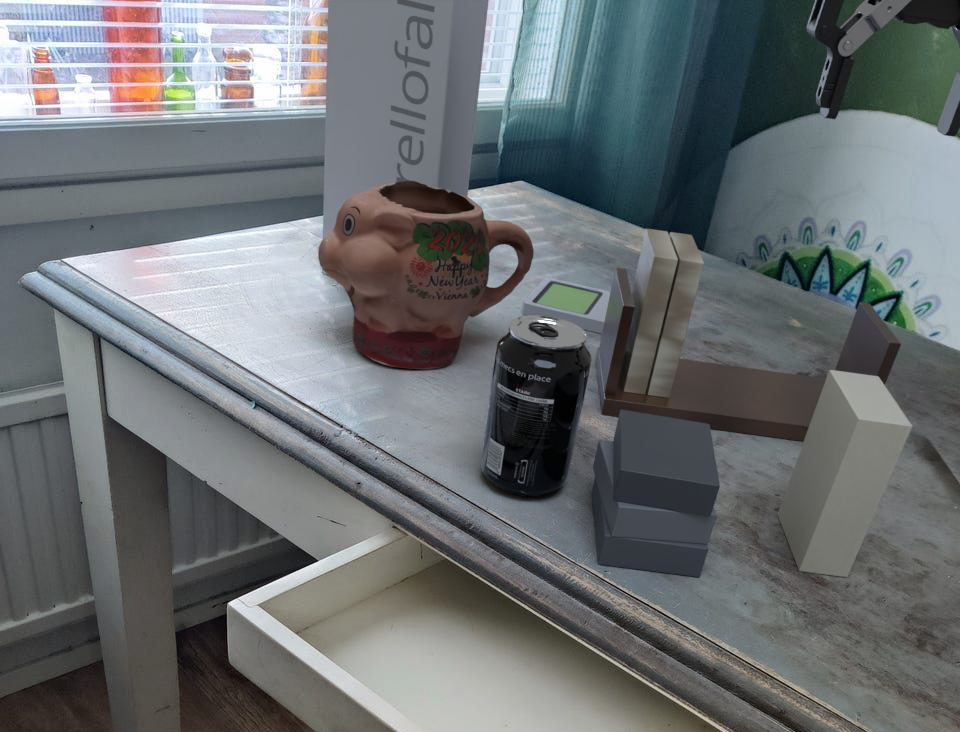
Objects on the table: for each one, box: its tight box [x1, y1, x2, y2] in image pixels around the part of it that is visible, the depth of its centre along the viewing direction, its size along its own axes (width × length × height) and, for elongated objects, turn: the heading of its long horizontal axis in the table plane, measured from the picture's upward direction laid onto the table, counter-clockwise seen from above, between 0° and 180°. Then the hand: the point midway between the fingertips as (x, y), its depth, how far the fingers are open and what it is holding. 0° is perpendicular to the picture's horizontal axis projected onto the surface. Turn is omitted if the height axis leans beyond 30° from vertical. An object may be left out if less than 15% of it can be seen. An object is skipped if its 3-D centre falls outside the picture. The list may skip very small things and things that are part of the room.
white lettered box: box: [321, 0, 490, 276], centre depth 97 cm, size 14×6×30 cm, turn 55°
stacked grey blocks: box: [591, 410, 721, 578], centre depth 70 cm, size 8×10×7 cm
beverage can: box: [480, 315, 592, 497], centre depth 73 cm, size 7×7×12 cm
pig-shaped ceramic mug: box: [317, 181, 535, 370], centre depth 90 cm, size 20×12×14 cm, turn 114°
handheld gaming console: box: [521, 277, 611, 335], centre depth 107 cm, size 10×2×15 cm
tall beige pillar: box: [777, 369, 913, 578], centre depth 70 cm, size 4×8×12 cm, turn 177°
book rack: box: [594, 228, 902, 442], centre depth 89 cm, size 24×12×14 cm, turn 87°
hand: (886, 125), depth 69 cm, fingers open, 8 cm apart
